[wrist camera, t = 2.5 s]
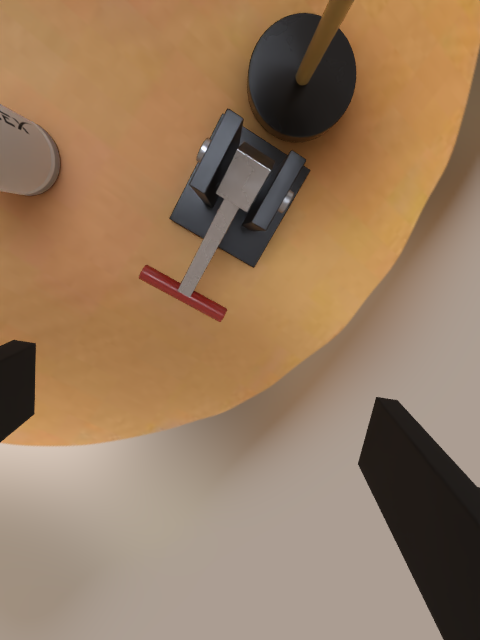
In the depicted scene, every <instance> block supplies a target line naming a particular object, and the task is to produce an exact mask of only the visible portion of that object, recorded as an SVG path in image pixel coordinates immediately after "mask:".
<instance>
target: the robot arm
mask: <svg viewBox="0 0 480 640" xmlns="http://www.w3.org/2000/svg"><path fill="white" fill-rule="evenodd" d="M35 357H36V343H30V342H23V341H17V340H13V341H11V342H8V343H6V344H4V345H1V346H0V442H1V441H2V440H4V439H5V438H6V437H7V436H8V435H10V434H11V433H12V432H13V431H15V430H16V429H17V428H18V427H19V426H21V425H22V424H23V423H24V422H25V421H27V420H28V419H29V418H30V417H31V416H33V415H34V405H35ZM358 465H359V467H360V469H361V471H362V473H363V475H364V477H365V479H366V481H367V483H368V486H369V488H370V490H371V492H372V494H373V496H374V498H375V500H376V502H377V504H378V506H379V508H380V510H381V512H382V514H383V516H384V518H385V520H386V522H387V524H388V527H389V528H390V531H391V533H392V535H393V537H394V539H395V541H396V543H397V545H398V547H399V549H400V551H401V553H402V555H403V557H404V559H405V561H406V563H407V566H408V568H409V570H410V572H411V573H412V576H413V578H414V580H415V582H416V584H417V586H418V588H419V590H420V592H421V594H422V596H423V598H424V600H425V602H426V605H427V607H428V609H429V611H430V612H431V615H432V617H433V619H434V621H435V623H436V625H437V627H438V629H439V631H440V633H441V635H442V637H443V639H444V640H480V488H479V487H477V486H476V485H475V484H474V483H473V482H472V481H471V480H470V479H469V478H468V477H467V475H466V474H465V473H464V472H463V471H462V470H461V469H460V468H459V467H458V466H457V465H456V464H455V462H454V461H453V460H452V459H451V458H450V457H449V456H448V455H447V454H446V453H445V452H444V451H443V449H442V448H441V447H440V446H439V445H438V444H437V443H436V442H435V441H434V440H433V438H432V437H431V436H430V435H429V434H428V433H427V432H426V431H425V430H424V429H423V428H422V426H421V425H420V424H419V423H418V422H417V421H416V420H415V419H414V418H413V417H412V416H411V415H410V414H409V412H408V411H407V410H406V409H405V408H404V407H403V406H402V405H401V404H400V403H399V401H398V400H391V399H385V398H380V397H376V400H375V404H374V407H373V411H372V415H371V418H370V422H369V426H368V429H367V433H366V437H365V440H364V444H363V447H362V451H361V455H360V459H359V462H358Z"/></svg>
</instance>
